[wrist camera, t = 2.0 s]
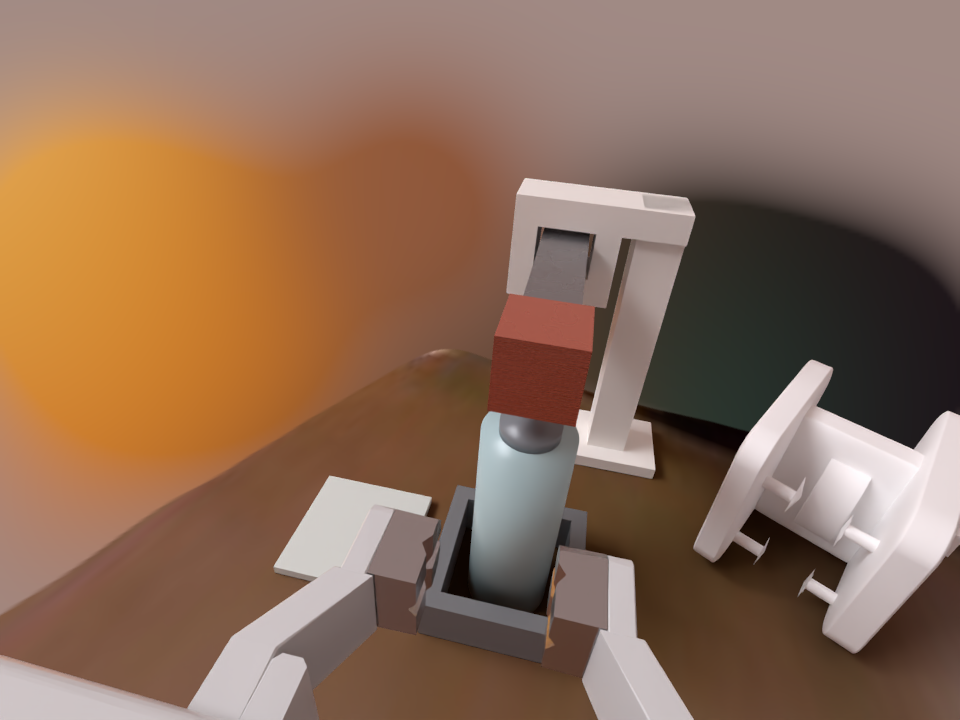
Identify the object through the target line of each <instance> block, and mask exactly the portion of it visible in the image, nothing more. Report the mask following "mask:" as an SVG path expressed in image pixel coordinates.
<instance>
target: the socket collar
mask: <svg viewBox="0 0 960 720" xmlns="http://www.w3.org/2000/svg"><path fill="white" fill-rule="evenodd" d="M475 491H476V489H473V488H469V487H464V486H459V485H457V488H456V491H455V494H454V497H453V500H452V503H451V506H450V509H449V513H448V516H447V519H446V522H445V525H444V528H443V531H442V534H441V537H440V540H439V542H440V554H439V561H438V565H437V569H436V574H435V577H434V580H433V584H432V586H431V587H430V588H429V589H428V590H426V606H425V609H424V612H423V615H422V618H421V621H420V624H419V627H418V633H421V634H425V635H429V636H433V637H437V638H441V639H445V640H449V641H453V642H457V643H462V644H466V645H470V646H474V647H478V648H482V649H486V650H490V651H494V652H498V653H502V654H506V655H510V656H514V657H518V658H522V659H526V660H530V661H534V662H538V663H541V660H542V650H543V640H544V633H545V628H546V624H547V620H548V617H545V616H540V615H536V614H532V613H528V612H524V611H519V610H515V609H511V608H507V607H502V606H498V605H494V604H490V603H486V602H481V601H477V600H473V599H469V598H464V597H460V596H456V595H452V594H448V593H447V592H448V589H449V585H450V582H451V578H452V575H453V571H454V568H455V564H456V561H457V557H458V554H459V550H460V547H461V543H462V540H463V536H464V533H465V529H466V528H470V529H472V525H473V514H474V502H475ZM586 525H587V512H585V511H580V510H575V509H570V508H565V507H564V511H563V515H562V520H561V524H560V528H559V532H558V537H557V541H556V545H555V547H558V548H559V546H560V545H562V546H567V547H572V548H577V549H582V550H585V545H586Z"/></svg>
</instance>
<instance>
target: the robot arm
mask: <svg viewBox="0 0 960 720" xmlns="http://www.w3.org/2000/svg"><path fill="white" fill-rule="evenodd" d="M440 531H441V520H439V519H435V518H431V517H426V516H422V515H418V514H414V513H410V512H406V511H402V510H398V509H394V508H389V507H385V506H380V505H376V504H374V506H373V507H372V508H371V509H370V510H369V512H368V514H367V516H366V518H365V520H364V522H363V524H362V526H361V528H360V530H359V532H358V534H357V536H356V538H355V540H354V542H353V544H352V546H351V548H350V550H349V552H348V554H347V556H346V558H345V560H344V562H343V564H342V566H341V567H336V566H334V567H332V568H331V569H330V570H328V571H327V572H325V573H324V574H322V575H321V576H319V577H318V578H316V579H315V580H313V581H312V582H311V583H309V584H308V585H306V586H305V587H303V588H302V589H300V590H299V591H297V592H296V593H295V594H293V595H292V596H290V597H289V598H287V599H286V600H284V601H283V602H281V603H280V604H279V605H277V606H276V607H274V608H273V609H271V610H270V611H268V612H267V613H265V614H264V615H263V616H261V617H260V618H258V619H257V620H255V621H254V622H252V623H251V624H249V625H248V626H247V627H245V628H244V629H242V630H241V631H239V632H238V633H236V634H235V635H233V636H232V637H231V639H230V640H229V642H228V644H227V645H226V647H225V648H224V650H223V652H222V653H221V655H220V657H219V658H218V660H217V661H216V663H215V665H214V666H213V668H212V669H211V671H210V673H209V674H208V676H207V677H206V679H205V681H204V682H203V684H202V685H201V687H200V689H199V690H198V692H197V694H196V695H195V697H194V698H193V700H192V702H191V703H190V705H189V706H188V708H187V709H185V708H182V707H179V706H175V705H172V704H168V703H165V702H161V701H158V700H154V699H151V698H148V697H144V696H141V695H137V694H134V693H130V692H127V691H123V690H120V689H116V688H113V687H110V686H106V685H103V684H99V683H96V682H92V681H89V680H85V679H82V678H78V677H75V676H72V675H68V674H65V673H61V672H58V671H54V670H51V669H47V668H44V667H41V666H37V665H34V664H30V663H27V662H23V661H20V660H16V659H13V658H9V657H6V656H3V655H0V720H319V717H318V712H317V708H316V704H315V699H314V695H313V691H312V690H313V689H314V688H315V687H317V686H318V685H319V684H320V683H321V682H322V681H323V680H324V679H325V678H326V677H327V676H328V675H329V674H330V673H331V672H332V671H333V670H335V669H336V668H337V667H338V666H339V665H340V664H341V663H342V662H343V661H344V660H345V659H346V658H347V657H348V656H349V655H350V654H351V653H352V652H354V651H355V650H356V649H357V648H358V647H359V646H360V645H361V644H362V643H363V642H364V641H365V640H366V639H367V638H368V637H369V636H370V635H372V634H373V633H374V632H375V631H376V630H377V627H382V628H386V629H391V630H395V631H400V632H404V633H409V634H413V635H416V634H417V630H418V627H419V624H420V621H421V618H422V615H423V612H424V609H425V606H426V590H428V589H429V588H430V587H431V586H432V584H433V580H434V577H435V574H436V569H437V565H438V561H439V554H440V542H439V541H438V537H439V534H440ZM546 614H547V616H548V620H547V624H546V628H545V633H544V640H543V650H542V660H541V667H544V668H548V669H551V670H555V671H558V672H562V673H566V674H569V675H573V676H576V677H580V678H583V679H582V682H583V684H584V687H585V689H586V692H587V694H588V696H589V699H590V701H591V703H592V706H593V708H594V711H595V713H596V715H597V718H598V720H694V719H693V718H692V716H691V714H690V713H689V711H688V710H687V708H686V706H685V705H684V703H683V701H682V700H681V698H680V696H679V695H678V693H677V692H676V690H675V688H674V687H673V685H672V683H671V682H670V680H669V679H668V677H667V675H666V674H665V672H664V670H663V669H662V667H661V666H660V664H659V662H658V661H657V659H656V657H655V656H654V654H653V653H652V651H651V649H650V648H649V646H648V644H647V643H646V641H645V640H643V639H639V638H637V620H636V598H635V576H634V565H633V562H632V561H631V560H627V559H622V558H617V557H613V556H607V555H606V554H602V553H597V552H592V551H587V550H582V549H577V548H572V547H567V546H562V545H560V546H559V549H558V552H557V557H556V566H555V568H554V569H553V574H552V579H551V584H550V589H549V596H548V604H547V613H546Z"/></svg>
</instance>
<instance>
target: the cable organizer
mask: <svg viewBox="0 0 960 720" xmlns="http://www.w3.org/2000/svg"><path fill="white" fill-rule="evenodd" d="M832 371H833V369H832V368H831V367H829V366H826V365H824V364H821V363H819V362H817V361H814V360H811V361H809V362H808V363H807V364H806V365H805V366H804V367H803V368H802V370H801V371H800V372H799V373H798V374H797V376H796V377H795V378H794V379H793V381H792V382H791V383H790V384H789V385H788V387H787V388H786V389H785V390H784V391H783V392H782V394H781V395H780V396H779V397H778V398H777V400H776V401H775V402H774V403H773V404H772V406H771V407H770V408H769V409H768V410H767V412H766V413H765V414H764V415H763V416H762V418H761V419H760V420H759V421H758V423H757V424H756V425H755V426H754V427H753V428H752V430H751V431H750V432H749V434H748V435H747V437H746V438H745V440H744V441H743V443H742V444H741V446H740V448H739V450H738V452H737V454H736V456H735V458H734V460H733V462H732V464H731V466H730V468H729V470H728V473H727V475H726V477H725V479H724V481H723V483H722V485H721V487H720V490H719V492H718V494H717V496H716V498H715V500H714V502H713V505H712V507H711V509H710V511H709V513H708V515H707V517H706V520H705V522H704V524H703V526H702V528H701V530H700V532H699V534H698V537H697V539H696V541H695V544H694V551H696V552H697V553H699V554H700V555H702V556H703V557H705V558H706V559H708V560H709V561H711V562H712V563H713V562H715V561H717V560H718V559H719V558H720V557H721V556H722V554H723V553H724V552H725V551H726V549H727V548H728V547H729V545H730V544H731V542H732V541H734V542H736V543H737V544H739V545H740V546H742V547H743V548H745V549H747V550H748V551H750V552H751V553H753V554H755V555H756V556H758V558H757V559H756V561H757V560H758V559H759V558H760V557H761V556H762V554H763V553H764V552H765V549H766V546H767V544H768V541H769V539H768V541H767V542H766V544H765V546H762V545H761V544H759V543H757V542H756V541H754V540H753V539H751V538H749V537H748V536H746V535H744V534H743V533H741V532H740V529H741V528H742V526H743V525H744V523H745V522H746V520H747V519H748V517H749V516H750V514H751V513H752V512H753V510H754V509H756V510H757V511H759V512H760V513H762V514H764V515H765V516H767V517H769V518H771V519H772V520H774V521H776V522H777V523H779V524H781V525H783V526H784V527H786V528H788V529H789V530H791V531H793V532H795V533H796V534H798V535H800V536H801V537H803V538H805V539H807V540H808V541H810V542H812V543H813V544H815V545H817V546H819V547H820V548H822V549H824V550H825V551H827V552H829V553H830V554H832V555H834V556H836V557H837V558H839V559H841V560H843V561H845V562H847V566H846V568H845V570H844V573H843V575H842V577H841V580H840V582H839V584H838V587H837V589H836V591H835V592H833V591H832V590H830V589H829V588H827V587H825V586H824V585H822V584H820V583H819V582H817V581H816V580H814V579H812V576H813V575H814V574H813V572H814V571H815V570H814V571H813V572H812V573H811V574H810V575H809V576H808V577H807V579H806V580H805V581H804V582H803V585H802V587H801V590H800V592H799V594H798V596H799V595H800V593H801V592H803V590H804V589H806V590H808V591H810V592H811V593H813V594H814V595H816V596H817V597H819V598H821V599H822V600H824V601H825V602H827V603H829V604H830V605H829V608H828V610H827V613H826V615H825V618H824V622H823V627H822V631H823V634H824V635H825V636H827V637H828V638H830V639H831V640H833V641H834V642H836V643H837V644H839V645H840V646H842V647H843V648H845V649H846V650H848V651H849V652H851V653H853V654H854V653H857V652H859V651H860V650H861V649H862V648H863V647H864V646H865V645H866V644H867V643H868V642H869V641H870V640H871V639H872V638H873V636H874V635H875V634H876V633H877V632H878V631H879V630H880V629H881V628H882V627H883V626H884V625H885V623H886V622H887V621H888V620H889V619H890V618H891V617H892V616H893V615H894V614H895V613H896V611H897V610H898V609H899V608H900V607H901V606H902V605H903V604H904V603H905V602H906V601H907V600H908V598H909V597H910V596H911V595H912V594H913V593H914V592H915V591H916V590H917V589H918V588H919V586H920V585H921V584H922V583H923V582H924V581H925V580H926V579H927V578H928V577H929V576H930V575H931V573H932V572H933V571H934V570H935V569H936V568H937V567H938V566H939V564H940V563H941V562H942V560H943V559H944V557H945V556H946V557H948V556H949V555H950V554H951V553H952V552H953V551H954V550H955V549H956V548H957V547H958V546H959V545H960V415H957V414H955V413H952V412H949V411H946V412H944V413H943V414H942V415H940V416H939V417H938V418H937V419H936V421H935V422H934V423H933V425H932V426H931V427H930V428H929V430H928V431H927V432H926V434H925V435H924V437H923V438H922V439H921V441H920V442H919V443H918V445H917V446H916V448H915V449H914V450H913V449H911V448H909V447H906V446H904V445H902V444H900V443H897V442H895V441H893V440H891V439H888V438H886V437H884V436H881V435H879V434H877V433H875V432H873V431H870V430H868V429H866V428H864V427H862V426H859V425H857V424H855V423H853V422H850V421H848V420H846V419H844V418H841V417H839V416H837V415H835V414H832V413H830V412H828V411H825V410H823V409H821V408H819V407H817V406H816V405H817V403H818V401H819V400H820V398H821V396H822V394H823V392H824V390H825V389H826V387H827V385H828V382H829V380H830V378H831V375H832ZM756 561H755V562H756ZM754 564H755V563H754ZM754 564H753V565H754ZM812 574H813V575H812Z"/></svg>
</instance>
